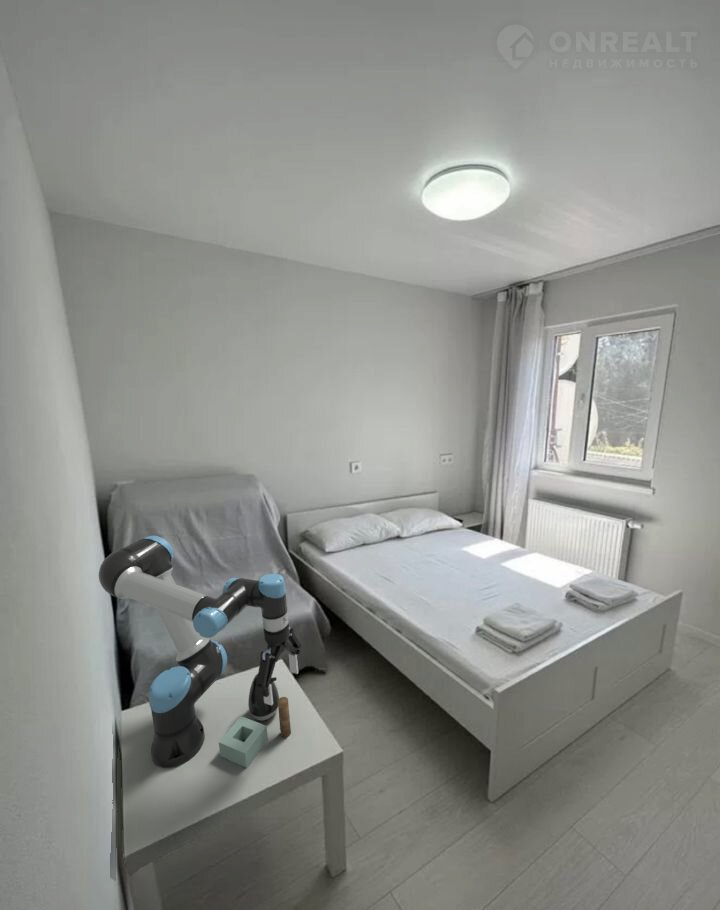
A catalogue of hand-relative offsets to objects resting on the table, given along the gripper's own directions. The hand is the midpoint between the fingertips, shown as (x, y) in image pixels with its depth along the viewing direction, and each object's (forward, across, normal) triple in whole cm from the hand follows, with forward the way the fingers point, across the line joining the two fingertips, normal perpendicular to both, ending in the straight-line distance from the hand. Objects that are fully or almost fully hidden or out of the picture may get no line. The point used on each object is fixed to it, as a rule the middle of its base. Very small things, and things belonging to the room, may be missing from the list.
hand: (282, 687), depth 123 cm
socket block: (+17, -9, +9) cm, 21 cm away
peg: (+17, 0, 0) cm, 17 cm away
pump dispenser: (+17, +4, +11) cm, 21 cm away
